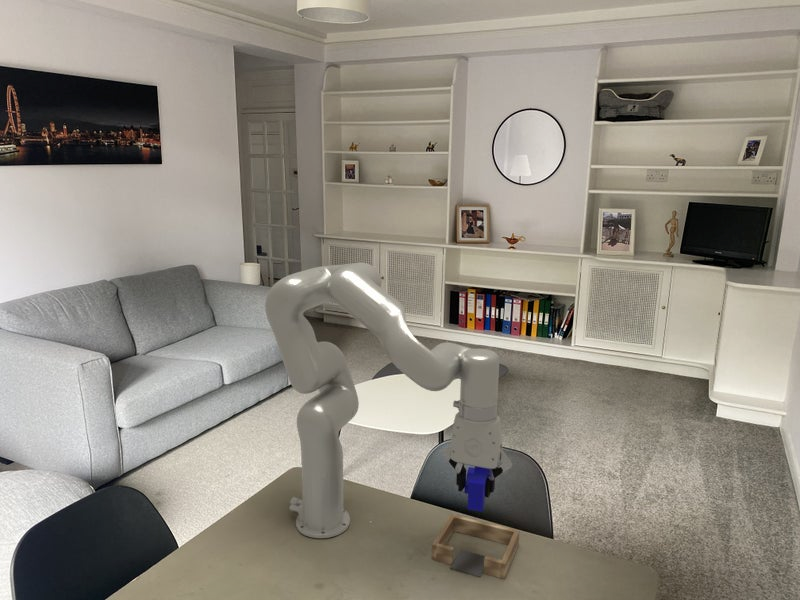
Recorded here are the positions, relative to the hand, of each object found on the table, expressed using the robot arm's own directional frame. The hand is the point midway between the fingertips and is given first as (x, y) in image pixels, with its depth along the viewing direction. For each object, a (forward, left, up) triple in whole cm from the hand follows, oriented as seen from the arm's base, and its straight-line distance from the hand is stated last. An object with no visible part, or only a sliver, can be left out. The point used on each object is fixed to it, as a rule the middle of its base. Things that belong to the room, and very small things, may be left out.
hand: (475, 490), depth 129 cm
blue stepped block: (0, 0, -1) cm, 1 cm away
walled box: (0, +3, -17) cm, 17 cm away
